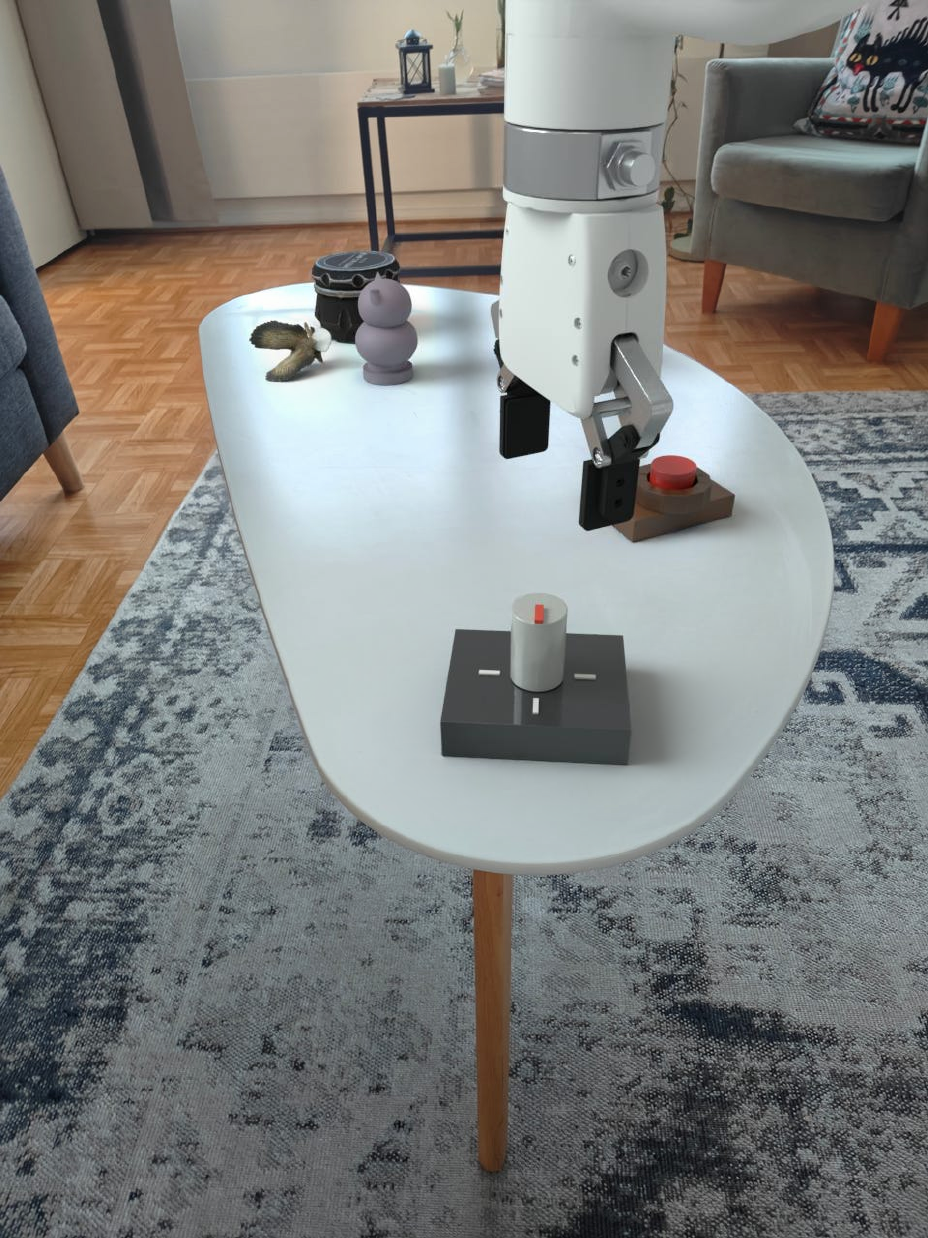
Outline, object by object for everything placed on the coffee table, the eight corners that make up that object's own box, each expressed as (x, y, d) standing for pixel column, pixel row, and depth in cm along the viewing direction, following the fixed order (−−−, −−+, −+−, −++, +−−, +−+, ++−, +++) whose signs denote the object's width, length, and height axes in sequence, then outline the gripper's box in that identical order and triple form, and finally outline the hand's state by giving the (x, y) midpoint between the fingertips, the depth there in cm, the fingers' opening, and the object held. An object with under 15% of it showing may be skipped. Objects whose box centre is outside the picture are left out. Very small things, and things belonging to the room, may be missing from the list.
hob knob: (511, 657, 62) (512, 587, 59) (563, 659, 62) (568, 589, 58) (508, 691, 59) (509, 619, 56) (563, 693, 59) (568, 621, 55)
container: (314, 321, 135) (306, 251, 129) (400, 314, 136) (395, 245, 131) (319, 349, 124) (310, 274, 119) (411, 341, 126) (407, 267, 120)
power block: (674, 476, 91) (679, 439, 88) (738, 520, 83) (745, 480, 81) (580, 500, 87) (582, 462, 85) (638, 547, 79) (642, 507, 77)
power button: (676, 468, 84) (679, 451, 83) (703, 486, 81) (705, 468, 80) (640, 477, 83) (642, 460, 82) (666, 495, 80) (668, 478, 79)
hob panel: (619, 668, 66) (623, 633, 64) (627, 765, 58) (632, 728, 56) (456, 661, 67) (455, 626, 65) (441, 756, 59) (439, 719, 57)
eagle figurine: (294, 344, 122) (240, 349, 116) (314, 303, 118) (259, 307, 111) (325, 386, 121) (272, 393, 114) (347, 346, 116) (292, 351, 110)
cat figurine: (417, 388, 112) (412, 289, 105) (354, 389, 112) (345, 289, 105) (421, 364, 119) (417, 269, 112) (362, 364, 119) (354, 270, 112)
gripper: (764, 189, 38) (703, 541, 48) (561, 135, 51) (547, 421, 61) (610, 206, 35) (581, 573, 45) (438, 145, 48) (445, 441, 58)
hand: (562, 486), depth 53 cm, fingers open, 9 cm apart
